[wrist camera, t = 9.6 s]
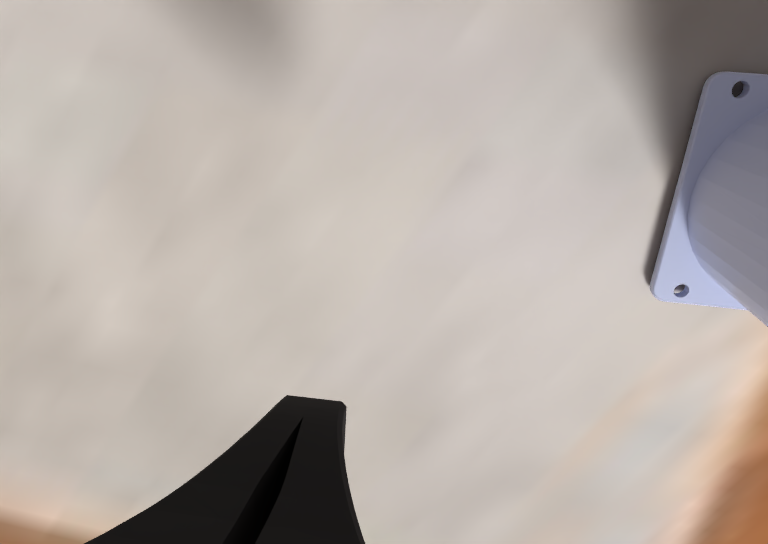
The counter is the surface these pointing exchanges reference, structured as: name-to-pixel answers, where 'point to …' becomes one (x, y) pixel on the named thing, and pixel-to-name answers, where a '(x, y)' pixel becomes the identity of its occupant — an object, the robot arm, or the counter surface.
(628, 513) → the counter surface
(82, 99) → the counter surface
